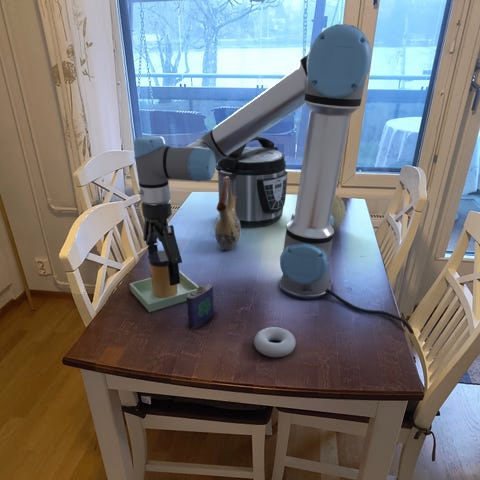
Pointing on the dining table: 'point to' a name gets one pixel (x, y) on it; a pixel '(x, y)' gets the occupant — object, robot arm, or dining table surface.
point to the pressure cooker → (255, 182)
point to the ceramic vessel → (227, 219)
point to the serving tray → (154, 303)
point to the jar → (160, 275)
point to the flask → (200, 305)
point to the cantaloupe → (338, 211)
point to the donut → (271, 348)
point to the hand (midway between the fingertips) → (164, 274)
